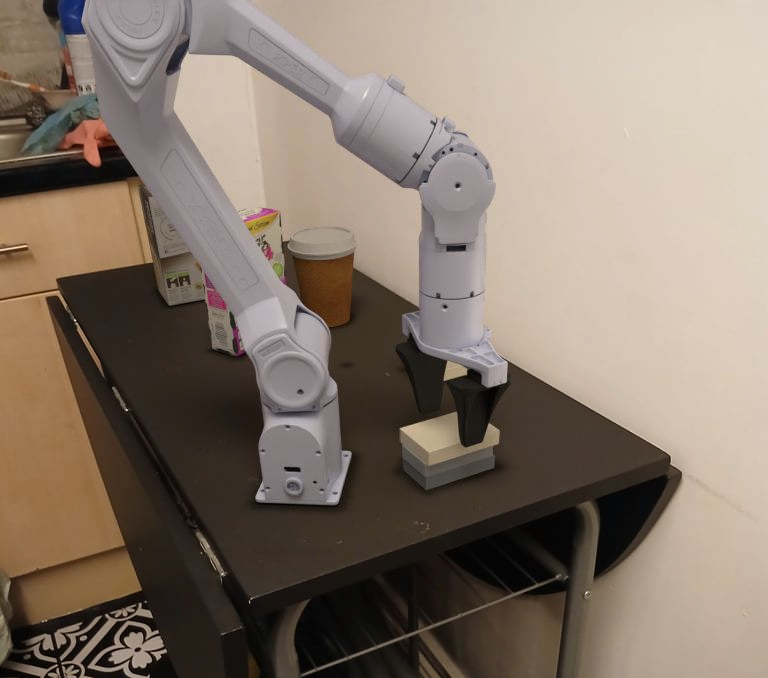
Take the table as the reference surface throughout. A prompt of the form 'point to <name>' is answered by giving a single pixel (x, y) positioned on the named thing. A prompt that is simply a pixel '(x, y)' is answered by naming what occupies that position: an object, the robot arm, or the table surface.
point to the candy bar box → (270, 241)
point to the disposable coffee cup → (325, 270)
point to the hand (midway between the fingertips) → (449, 426)
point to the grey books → (446, 467)
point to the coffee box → (170, 255)
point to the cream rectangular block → (441, 439)
